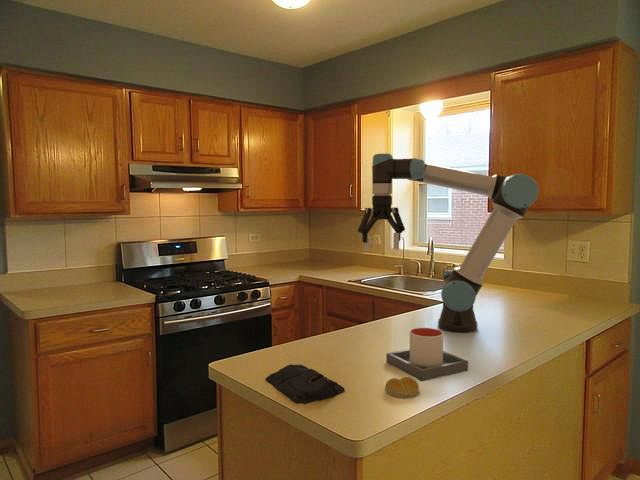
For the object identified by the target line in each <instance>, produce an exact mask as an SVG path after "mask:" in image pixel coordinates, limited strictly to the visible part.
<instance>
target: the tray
mask: <svg viewBox="0 0 640 480" xmlns="http://www.w3.org/2000/svg"><path fill="white" fill-rule="evenodd" d="M385 356H386V361H385V362H386V363H387V364H389V365H390V366H392V367H395V368H397V369H398V370H400V371H402V372H404V373H406V374H407V375H409V376H411V377H413V378H414V379H417V380H419V381H421V382H423V381H429V380H433V379H437V378H441V377H447V376H451V375H454V374H455V375H456V374H460V373H464V372H468V370H469V361H468V360H466V359H464V358H461V357H459V356H457V355H454V354H452V353H449V352H447V351H445V350H443V362H442V364H441V365H438V366H434V367H429V368H421V367H418V366H416V365H414V364H412V363H411V362H410V348H409V349H408V348H407V349H401V350H397V351H391V352H386V355H385Z"/></svg>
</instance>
